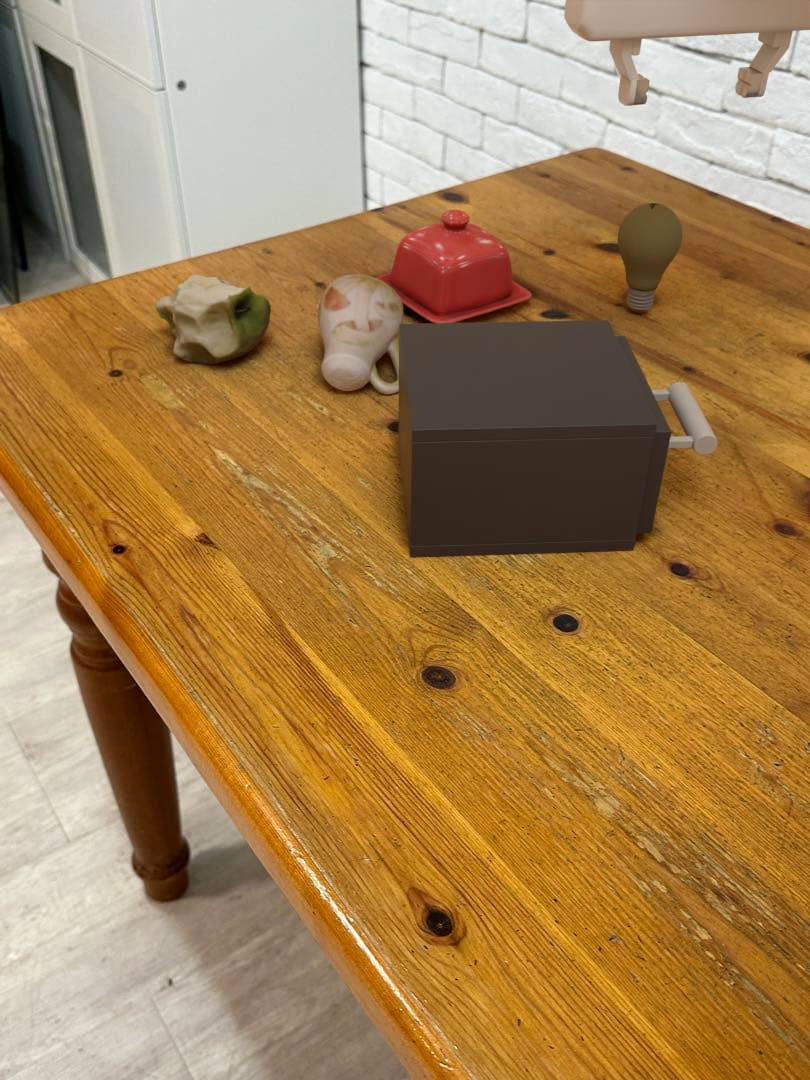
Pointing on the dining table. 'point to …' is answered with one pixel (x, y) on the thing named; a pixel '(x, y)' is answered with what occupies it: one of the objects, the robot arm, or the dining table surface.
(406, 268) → the butter dish
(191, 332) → the fruit
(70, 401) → the dining table surface
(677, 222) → the light bulb
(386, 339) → the mug
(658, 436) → the drawer
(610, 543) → the cabinet
